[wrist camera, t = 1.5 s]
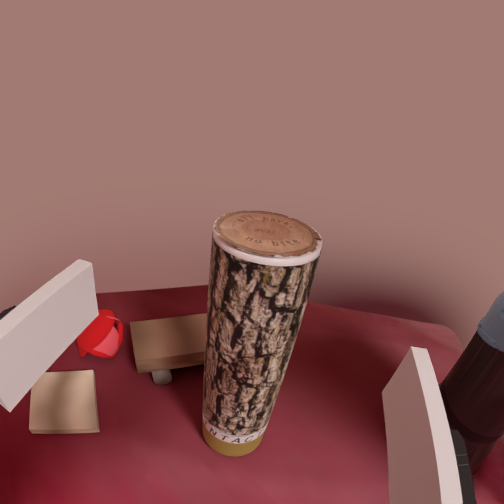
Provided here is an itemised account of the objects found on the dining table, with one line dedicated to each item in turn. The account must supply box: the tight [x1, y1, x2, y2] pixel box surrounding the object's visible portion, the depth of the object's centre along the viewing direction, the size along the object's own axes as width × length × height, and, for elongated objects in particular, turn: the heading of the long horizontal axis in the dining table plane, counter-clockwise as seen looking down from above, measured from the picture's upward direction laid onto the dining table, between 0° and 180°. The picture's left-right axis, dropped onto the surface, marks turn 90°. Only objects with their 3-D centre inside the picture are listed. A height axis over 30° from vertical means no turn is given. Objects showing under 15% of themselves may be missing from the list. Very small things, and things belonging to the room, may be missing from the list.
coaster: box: [29, 370, 100, 434], centre depth 28 cm, size 9×9×1 cm
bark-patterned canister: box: [203, 211, 323, 456], centre depth 25 cm, size 7×7×25 cm
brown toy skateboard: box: [130, 313, 207, 385], centre depth 40 cm, size 20×8×5 cm, turn 113°
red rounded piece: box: [76, 309, 123, 359], centre depth 37 cm, size 8×6×6 cm
